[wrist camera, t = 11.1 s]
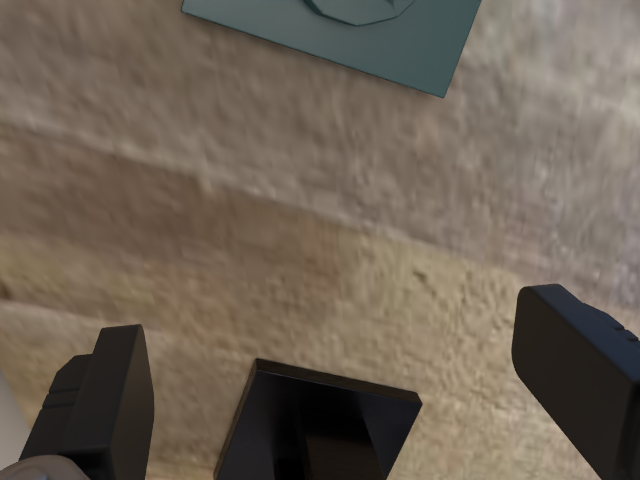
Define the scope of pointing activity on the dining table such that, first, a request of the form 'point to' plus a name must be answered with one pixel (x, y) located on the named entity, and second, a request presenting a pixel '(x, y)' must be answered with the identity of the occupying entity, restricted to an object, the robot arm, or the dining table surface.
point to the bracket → (315, 427)
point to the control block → (359, 33)
